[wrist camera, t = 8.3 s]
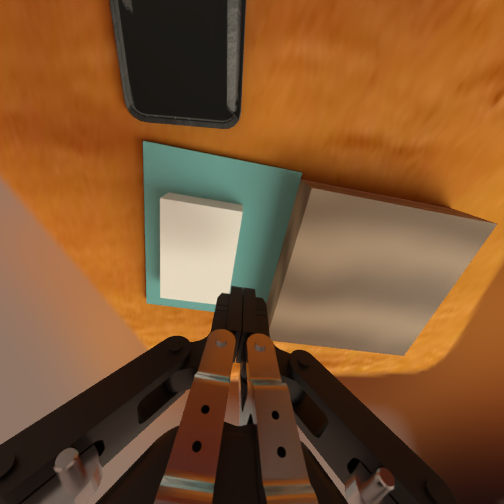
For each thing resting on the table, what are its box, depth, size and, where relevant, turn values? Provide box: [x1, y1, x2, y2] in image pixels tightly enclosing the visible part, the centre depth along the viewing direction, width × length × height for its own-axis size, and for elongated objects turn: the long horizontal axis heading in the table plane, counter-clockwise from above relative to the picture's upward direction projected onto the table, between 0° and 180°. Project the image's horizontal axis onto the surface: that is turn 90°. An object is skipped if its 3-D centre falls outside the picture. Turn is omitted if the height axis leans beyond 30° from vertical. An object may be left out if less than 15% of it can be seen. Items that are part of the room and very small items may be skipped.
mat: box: [143, 141, 302, 312], centre depth 20 cm, size 15×12×1 cm
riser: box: [266, 179, 497, 356], centre depth 20 cm, size 14×14×4 cm
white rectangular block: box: [160, 192, 243, 305], centre depth 19 cm, size 9×6×2 cm, turn 170°
